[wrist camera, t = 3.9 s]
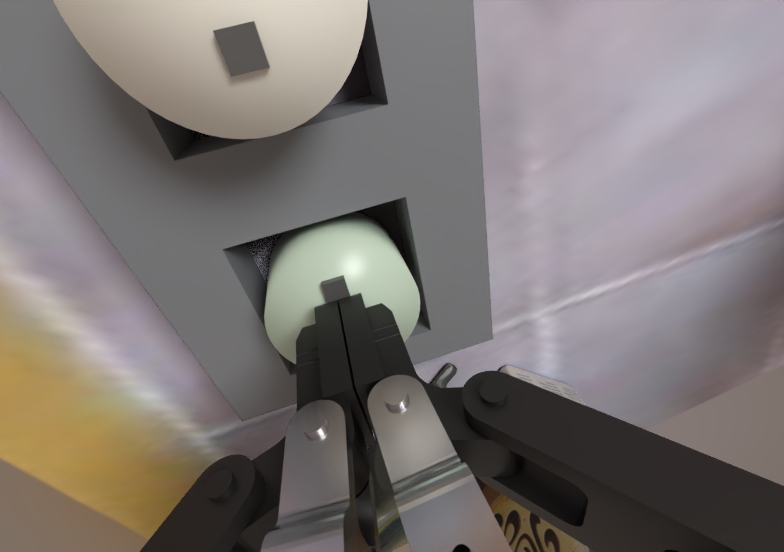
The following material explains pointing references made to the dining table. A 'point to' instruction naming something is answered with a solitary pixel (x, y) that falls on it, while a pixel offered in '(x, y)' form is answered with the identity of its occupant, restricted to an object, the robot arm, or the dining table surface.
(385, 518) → the mobile phone
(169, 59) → the cream button
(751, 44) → the dining table surface
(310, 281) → the sage button
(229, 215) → the button board
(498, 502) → the coffee box
